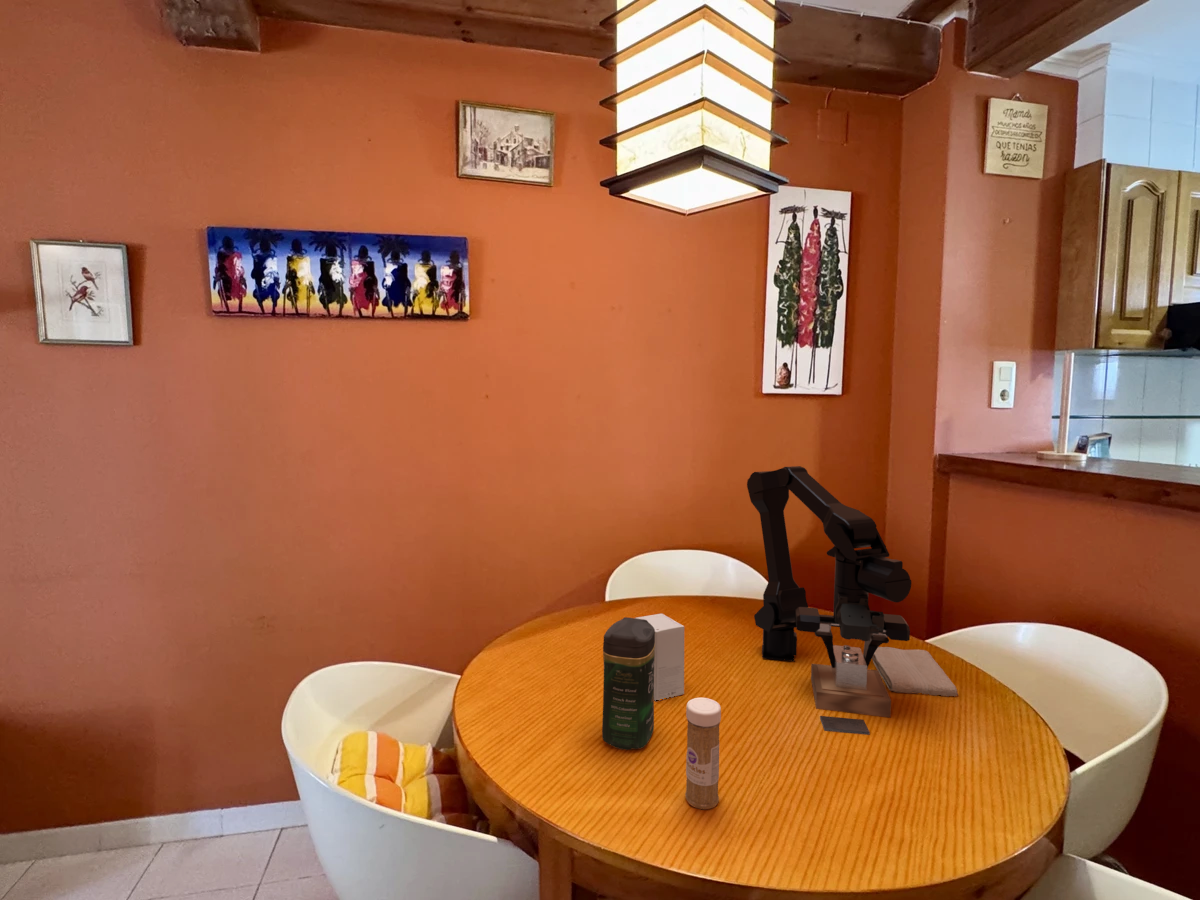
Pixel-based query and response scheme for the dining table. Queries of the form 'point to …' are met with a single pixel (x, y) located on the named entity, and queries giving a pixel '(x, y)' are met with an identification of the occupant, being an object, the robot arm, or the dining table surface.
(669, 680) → the small box
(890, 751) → the dining table surface
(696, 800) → the sprinkles bottle
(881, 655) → the washcloth
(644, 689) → the coffee jar
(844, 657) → the housing
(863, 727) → the cover plate
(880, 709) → the tray
